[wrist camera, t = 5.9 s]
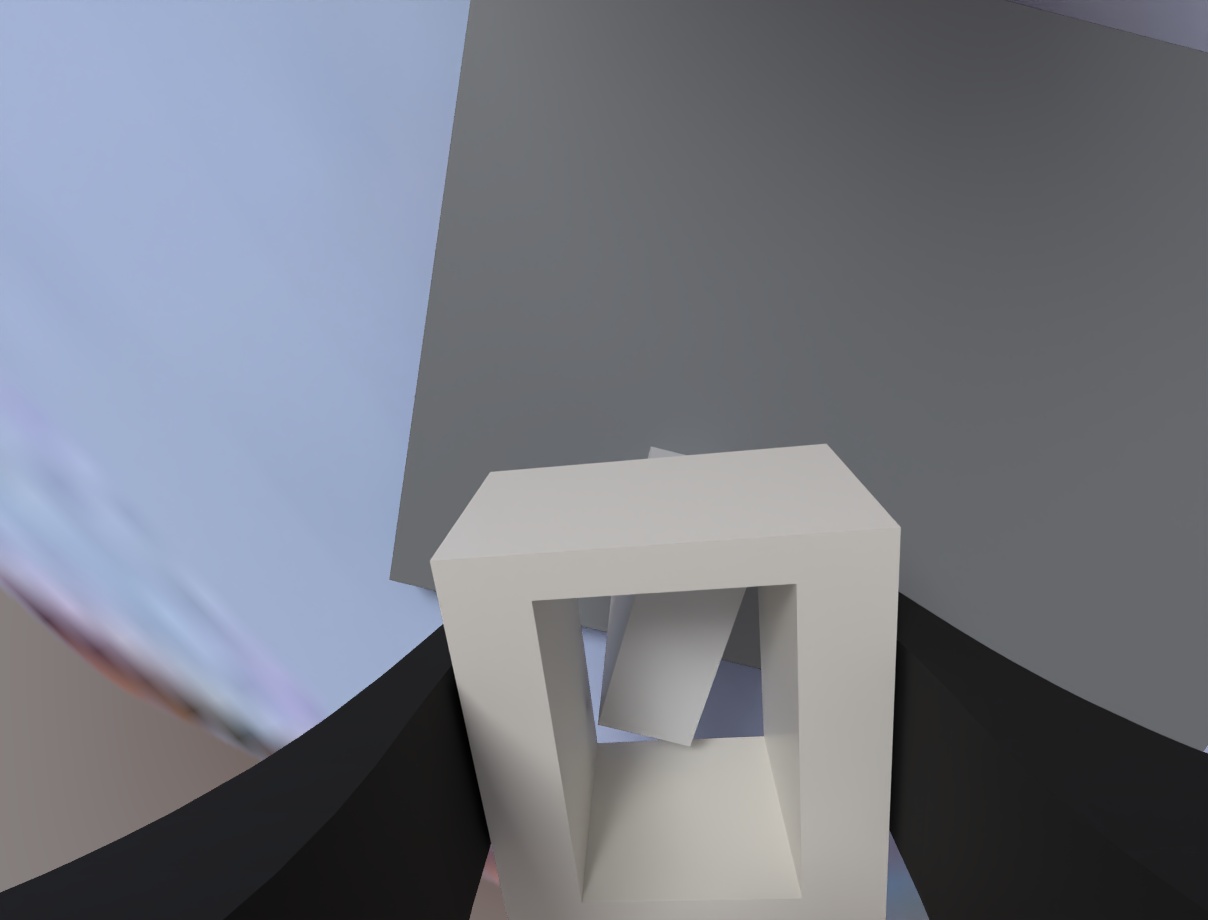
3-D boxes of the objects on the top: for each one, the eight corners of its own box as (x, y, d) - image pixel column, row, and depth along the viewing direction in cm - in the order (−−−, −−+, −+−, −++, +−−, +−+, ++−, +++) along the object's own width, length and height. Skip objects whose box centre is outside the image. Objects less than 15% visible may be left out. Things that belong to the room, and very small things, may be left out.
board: (1541, 165, 12) (2219, 107, 7) (1158, 741, 17) (1390, 970, 11) (502, -104, 12) (385, -376, 7) (404, 560, 16) (291, 709, 11)
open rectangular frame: (826, 444, 10) (901, 527, 7) (827, 760, 12) (884, 929, 9) (489, 471, 10) (429, 560, 7) (543, 771, 12) (511, 934, 9)
